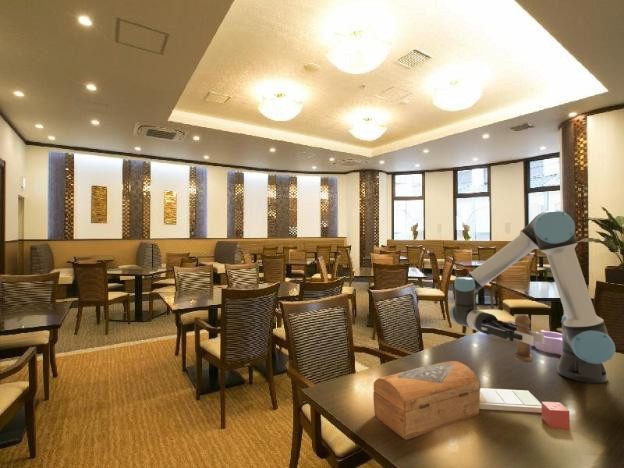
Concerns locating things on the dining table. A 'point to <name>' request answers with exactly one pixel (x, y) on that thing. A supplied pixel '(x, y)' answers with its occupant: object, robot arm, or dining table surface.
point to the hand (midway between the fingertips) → (537, 339)
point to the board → (509, 400)
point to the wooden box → (426, 398)
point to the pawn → (523, 348)
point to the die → (555, 415)
